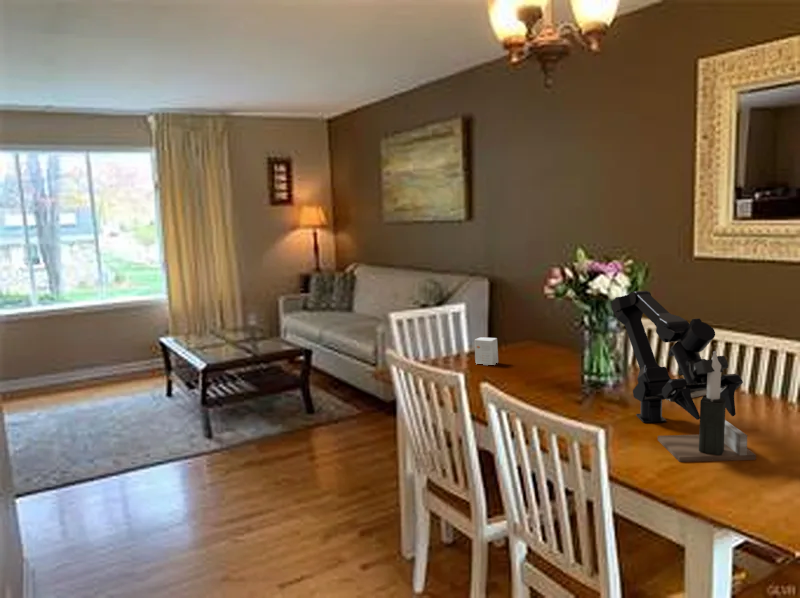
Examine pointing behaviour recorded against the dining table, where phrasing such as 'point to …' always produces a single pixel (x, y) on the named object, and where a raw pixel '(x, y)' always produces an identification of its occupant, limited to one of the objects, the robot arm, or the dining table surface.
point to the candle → (712, 413)
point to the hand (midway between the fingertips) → (716, 417)
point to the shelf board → (688, 450)
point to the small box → (486, 351)
